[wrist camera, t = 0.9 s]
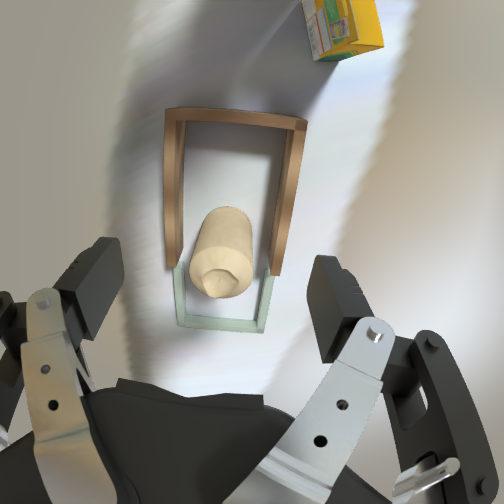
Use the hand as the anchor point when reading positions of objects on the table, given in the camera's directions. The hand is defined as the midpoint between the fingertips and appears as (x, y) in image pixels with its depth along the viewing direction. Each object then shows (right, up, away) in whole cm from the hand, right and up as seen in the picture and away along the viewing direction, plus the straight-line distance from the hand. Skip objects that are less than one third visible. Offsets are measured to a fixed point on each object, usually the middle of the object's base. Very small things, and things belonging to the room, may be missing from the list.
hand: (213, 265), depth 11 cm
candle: (-1, +3, +20) cm, 20 cm away
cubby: (-1, +7, +17) cm, 19 cm away
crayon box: (+8, +22, +9) cm, 25 cm away
